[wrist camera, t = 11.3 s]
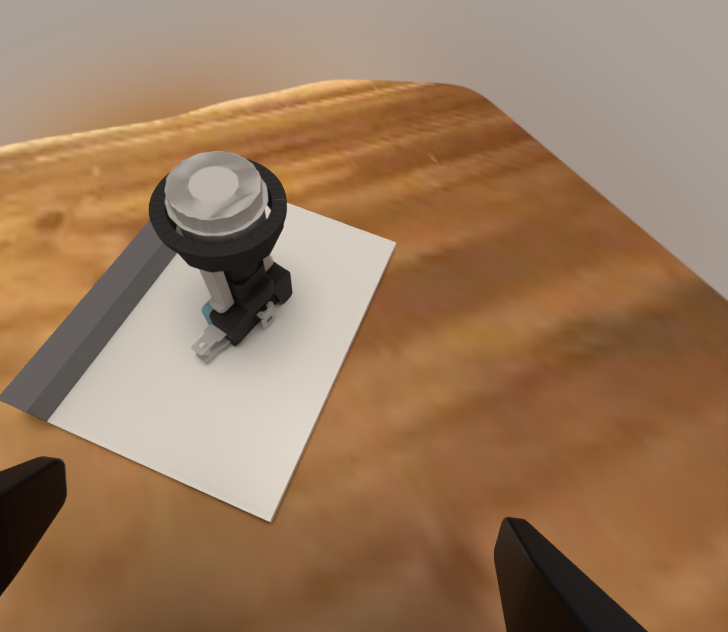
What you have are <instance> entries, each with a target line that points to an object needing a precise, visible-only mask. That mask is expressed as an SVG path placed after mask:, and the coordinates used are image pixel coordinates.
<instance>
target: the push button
mask: <svg viewBox="0 0 728 632" xmlns="http://www.w3.org/2000/svg"><path fill="white" fill-rule="evenodd" d="M266 205H267V206H268V207H269V209H270V210H271V211H270V214H269V216H268V218H267V219H266V214H265V207H266ZM286 215H287V200H286V194H285V191H284V188H283V186H282V184H281V182H280V181H279V179H278V178H277V177H276V176H275V175H274V174H273V173H272V172H271V171H270V170H268V169H267V168H266V167H264V166H262V165H261V164H258V163H256V162H254V161H251V160H248V159H246V158H242V157H240V156H239V155H237V154H231V153H227V152H220V151H215V152H208V153H200V154H196V155H194V156H192V157H190V158H188V159H186V160H184V161H182V162H179V164H178V165H177V166H176V167H175V168H174V169H173V170H172V171H171V172H170V173H169V174H168V175H166V176H165V177H164V178H163V179H162V180H161V181H160V183H159V184H158V185H157V187H156V188H155V190H154V192H153V193H152V196H151V199H150V203H149V217H150V221H151V224H152V226H153V228H154V230H155V232H156V234H157V235H158V237H159V238H160V240H161V241H162V242H163V243H164V244H165V245H166V246H167V247H168V248H170V249H171V250H173V251H174V252H176V253H178V254H179V255H180V256H181V258H182V259H183V260H184V261H185V262H186V263H187V264H188V265H189V266H191V267H194V268H197V269H199V270H200V273H201V275H202V277H203V279H204V282H205V284H206V286H207V288H208V291H209V293H210V295H211V297H212V298H211V299H210V300H209V301H208V302H207V303H206V304H205V305H204V306H203V307H202V313H203V315H204V317H205V319H206V321H207V322H208V324H209V326H208V327H207V328H206V329H205V330H204V332H205V334H204V335H203V336H202V337H201V338H200V339H199V340H198V341H197V342H196V343H195V344H193V345H192V346H191V349H192V350H194V351H195V352H196V356H197V357H198V358H200V359H201V360H202V361H204V362H208V361H209V360H210V359H211V358H212V357H213V356H214V355H215V354H216V352H217V351H218V350H219V349H220V348H221V349H222V350H223V349H224V348H225V347H226V346H227V345H228V344H229V343H231V344H232V345H233V346H237V345H238V344H239V343H240V342H241V341H242V340H243V339H244V338H245V337H246V336H247V334H248V333H249V332H250V331H251V330H252V329H253V328H254V327H255V326H256V325H257V324H258V323H259V322H260V321H261V323H262V327H263V329H266V328H267V327H268V326H269V325H270V324H271V323H272V322H273V321H274V319H275V318H276V311H275V307H274V306H275V305H276V304H277V303H278V302H280V303H281V304H284V303H286V301H287V300H288V299H289V298H290V297H291V295H292V293H293V292H292V283H291V274H290V272H289V271H288V270H286V269H285V268H283V267H282V266H280V265H279V264H277V263H275V262H274V261H273V257H272V256H270V254H271V252H272V250H273V248H274V246H275V244H276V242H277V240H278V238H279V236H280V234H281V232H282V230H283V228H284V222H285V219H286ZM177 225H178V226H179V227H180V230H181V232H182V234H183V236H184V237H183V236H182V235H180V234H179V233H177V232H176V226H177ZM270 316H271V319H270V320H269V321H268V322H267V320H268V318H269V317H270ZM201 342H206V344H205V345H204V346H203V347H202V348H200V347H199V344H200V343H201ZM209 349H210V350H211V353H210V354H209V355H204V354H205V353H206V352H207V351H208V350H209Z"/></svg>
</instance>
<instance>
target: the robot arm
mask: <svg viewBox="0 0 728 632" xmlns="http://www.w3.org/2000/svg"><path fill="white" fill-rule="evenodd" d="M66 497H67V482H66V467H65V463H64V461H63V460H62V459H60V458H53V457H44V456H42V457H37V458H35V459H32V460H29V461H27V462H24V463H21V464H19V465H16V466H13V467H11V468H8V469H5V470H3V471H0V596H1V595H2V593H3V592H4V591H5V590H6V588H7V587H8V586H9V584H10V583H11V582H12V580H13V579H14V578H15V576H16V575H17V573H18V572H19V571H20V569H21V568H22V566H23V565H24V563H25V562H26V560H27V559H28V557H29V556H30V554H31V553H32V551H33V550H34V548H35V547H36V545H37V544H38V542H39V541H40V539H41V538H42V536H43V535H44V533H45V532H46V530H47V529H48V527H49V526H50V524H51V523H52V521H53V520H54V518H55V517H56V515H57V514H58V512H59V511H60V509H61V508H62V506H63V505H64V503H65V500H66ZM494 562H495V568H496V574H497V579H498V585H499V591H500V597H501V602H502V608H503V614H504V619H505V625H506V631H507V632H648V631H647V630H646V629H644V628H643V627H642V626H641V625H640V624H639V623H638V622H637V621H636V620H635V619H633V618H632V617H631V616H630V615H629V614H628V613H627V612H626V611H625V610H624V609H623V608H621V607H620V606H619V605H618V604H617V603H616V602H615V601H614V600H613V599H612V598H611V597H609V596H608V595H607V594H606V593H605V592H604V591H603V590H602V589H601V588H600V587H599V586H597V585H596V584H595V583H594V582H593V581H592V580H591V579H590V578H589V577H588V576H586V575H585V574H584V573H583V572H582V571H581V570H580V569H579V568H578V567H577V566H576V565H574V564H573V563H572V562H571V561H570V560H569V559H568V558H567V557H566V556H565V555H564V554H562V553H561V552H560V551H559V550H558V549H557V548H556V547H555V546H554V545H553V544H552V543H550V542H549V541H548V540H547V539H546V538H545V537H544V536H543V535H542V534H541V533H539V532H538V531H537V530H536V529H535V528H534V527H533V526H532V525H531V524H530V523H529V522H527V521H526V520H524V519H521V518H513V517H506V518H504V519H503V521H502V523H501V527H500V530H499V534H498V538H497V541H496V545H495V549H494Z"/></svg>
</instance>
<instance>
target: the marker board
mask: <svg viewBox="0 0 728 632" xmlns="http://www.w3.org/2000/svg"><path fill="white" fill-rule="evenodd" d="M270 211H271V210H270V209H269V207H268V206H267V205H266V207H265V214H266V219H267V218H268V216H269V214H270ZM176 232H177V233H179V234H180V235H182V236H183V234H182V232H181V230H180V227H179V226H178V225H177V226H176ZM183 237H184V236H183ZM395 246H396V242H393V241H390V240H388V239H385V238H382V237H379V236H377V235H374V234H371V233H368V232H366V231H363V230H360V229H357V228H355V227H352V226H349V225H346V224H344V223H341V222H338V221H335V220H333V219H330V218H327V217H325V216H322V215H319V214H316V213H314V212H311V211H308V210H305V209H303V208H300V207H297V206H294V205H292V204H289V203H287V215H286V219H285V222H284V228H283V230H282V232H281V234H280V236H279V238H278V240H277V242H276V244H275V246H274V248H273V250H272V252H271V254H270V256H272V257H273V261H274V262H275V263H277V264H279V265H280V266H282V267H283V268H285V269H286V270H288V271H289V272H290V274H291V283H292V292H293V293H292V295H291V297H290V298H289V299H288V300H287V301H286V303H284V304H281V303H280V302H278V303H277V304H276V305H275V306H274V307H275V311H276V318H275V319H274V321H273V322H272V323H271V324H270V325H269V326H268V327H267V328H266V329H263V327H262V323H261V321H260V322H259V323H258V324H257V325H256V326H255V327H254V328H253V329H252V330H251V331H250V332H249V333H248V334H247V336H246V337H245V338H244V339H243V340H242V341H241V342H240V343H239V344H238V345H237V346H233V345H232V344H231V343H229V344H228V345H227V346H226V347H225V348H224V349H223V350H222V349H221V348H220V349H219V350H218V351H217V352H216V354H215V355H214V356H213V357H212V358H211V359H210V360H209V361H208V362H204V361H202V360H201V359H200V358H198V357H197V356H196V352H195V351H194V350H192V349H191V346H192V345H193V344H195V343H196V342H197V341H198V340H199V339H200V338H201V337H202V336H203V335H204V334H205V332H204V330H205V329H206V328H207V327H208V326H209V324H208V322H207V321H206V319H205V317H204V315H203V313H202V307H203V306H204V305H205V304H206V303H207V302H208V301H209V300H210V299H211V298H212V297H211V295H210V293H209V291H208V288H207V286H206V284H205V282H204V279H203V277H202V275H201V273H200V270H199V269H197V268H194V267H191V266H189V265H188V264H187V263H186V262H185V261H184V260H183V259H182V258H181V256H180V255H179V254H178V253H176V252H174V251H173V250H171V249H170V248H168V247H167V246H166V245H165V244H164V243H163V242H162V241H161V240H160V238H159V237H158V235H157V234H156V232H155V230H154V228H153V226H152V224H151V221H149V222H148V223H147V224H146V225H145V227H144V228H143V229H142V230H141V231H140V232H139V234H138V235H137V236H136V237H135V238H134V239H133V241H132V242H131V243H130V244H129V245H128V246H127V248H126V249H125V250H124V251H123V252H122V253H121V255H120V256H119V257H118V258H117V259H116V260H115V262H114V263H113V264H112V265H111V266H110V267H109V269H108V270H107V271H106V272H105V273H104V274H103V276H102V277H101V278H100V279H99V280H98V281H97V283H96V284H95V285H94V286H93V287H92V288H91V290H90V291H89V292H88V293H87V294H86V295H85V297H84V298H83V299H82V300H81V301H80V302H79V304H78V305H77V306H76V307H75V308H74V309H73V311H72V312H71V313H70V314H69V315H68V316H67V318H66V319H65V320H64V321H63V322H62V323H61V325H60V326H59V327H58V328H57V329H56V330H55V332H54V333H53V334H52V335H51V336H50V337H49V339H48V340H47V341H46V342H45V343H44V344H43V346H42V347H41V348H40V349H39V350H38V351H37V353H36V354H35V355H34V356H33V357H32V358H31V360H30V361H29V362H28V363H27V364H26V365H25V367H24V368H23V369H22V370H21V371H20V372H19V374H18V375H17V376H16V377H15V378H14V379H13V381H12V382H11V383H10V384H9V385H8V386H7V388H6V389H5V390H4V391H3V392H2V393H1V395H0V401H2V402H5V403H7V404H9V405H11V406H13V407H16V408H18V409H20V410H22V411H24V412H27V413H29V414H31V415H33V416H35V417H38V418H40V419H42V420H44V421H47V422H49V423H51V424H53V425H55V426H58V427H60V428H62V429H64V430H66V431H69V432H71V433H73V434H75V435H78V436H80V437H82V438H84V439H86V440H89V441H91V442H93V443H95V444H98V445H100V446H102V447H104V448H106V449H109V450H111V451H113V452H115V453H118V454H120V455H122V456H124V457H126V458H129V459H131V460H133V461H135V462H138V463H140V464H142V465H144V466H146V467H149V468H151V469H153V470H155V471H158V472H160V473H162V474H164V475H166V476H169V477H171V478H173V479H175V480H178V481H180V482H182V483H184V484H186V485H189V486H191V487H193V488H195V489H198V490H200V491H202V492H204V493H206V494H209V495H211V496H213V497H215V498H218V499H220V500H222V501H224V502H226V503H229V504H231V505H233V506H235V507H238V508H240V509H242V510H244V511H246V512H249V513H251V514H253V515H255V516H258V517H260V518H262V519H264V520H266V521H269V522H271V523H272V521H273V519H274V517H275V514H276V512H277V510H278V508H279V506H280V503H281V501H282V499H283V497H284V494H285V492H286V490H287V488H288V486H289V483H290V481H291V479H292V477H293V474H294V472H295V470H296V468H297V466H298V463H299V461H300V459H301V457H302V454H303V452H304V450H305V448H306V446H307V443H308V441H309V439H310V437H311V434H312V432H313V430H314V428H315V426H316V423H317V421H318V419H319V417H320V414H321V412H322V410H323V408H324V405H325V403H326V401H327V399H328V397H329V394H330V392H331V390H332V388H333V385H334V383H335V381H336V379H337V377H338V374H339V372H340V370H341V368H342V365H343V363H344V361H345V359H346V357H347V354H348V352H349V350H350V348H351V345H352V343H353V341H354V339H355V337H356V334H357V332H358V330H359V328H360V325H361V323H362V321H363V319H364V317H365V314H366V312H367V310H368V308H369V305H370V303H371V301H372V299H373V296H374V294H375V292H376V290H377V288H378V285H379V283H380V281H381V279H382V276H383V274H384V272H385V270H386V268H387V265H388V263H389V261H390V259H391V256H392V254H393V252H394V250H395ZM270 319H271V316H270V317H269V318H268V320H267V322H268V321H269V320H270ZM205 344H206V342H201V343H200V344H199V347H200V348H202V347H203V346H204V345H205ZM210 353H211V350H210V349H209V350H208V351H207V352H206V353H205V354H204V355H209V354H210Z"/></svg>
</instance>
